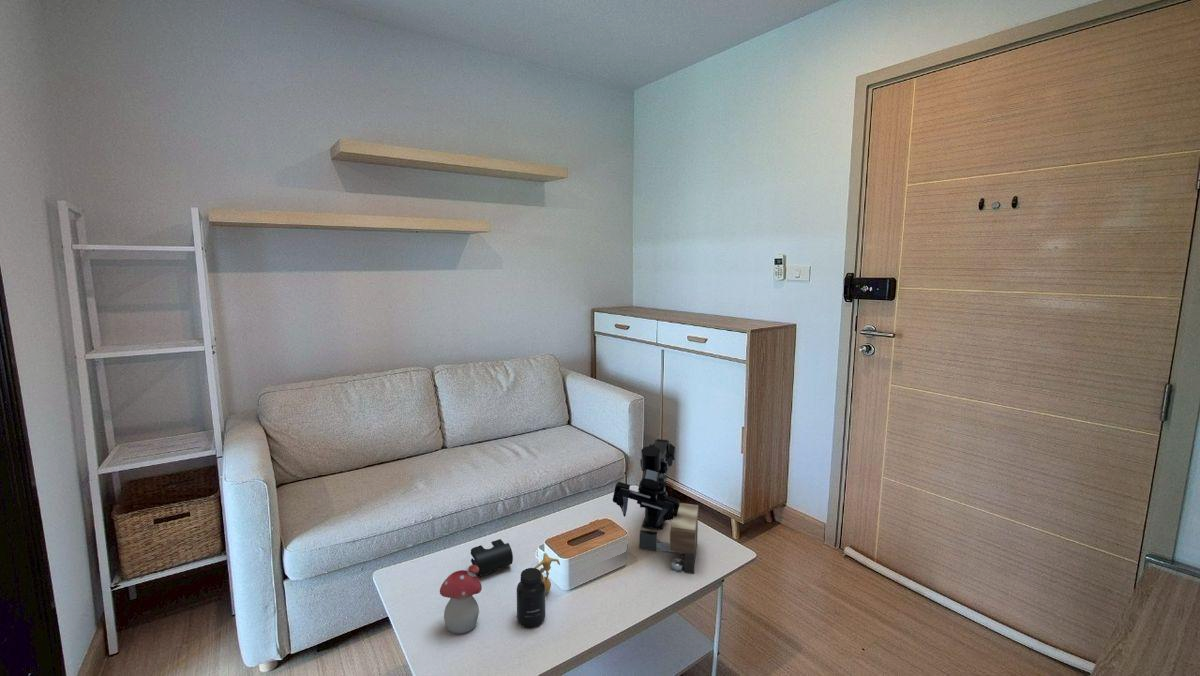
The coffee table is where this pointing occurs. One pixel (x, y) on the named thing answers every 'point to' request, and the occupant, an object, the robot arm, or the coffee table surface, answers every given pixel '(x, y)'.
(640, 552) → the coffee table surface
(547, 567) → the figurine
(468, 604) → the decorative ornament
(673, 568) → the grey metal dome
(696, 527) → the bronze curved block
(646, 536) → the blade tool
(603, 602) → the coffee table surface
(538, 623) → the supplement bottle
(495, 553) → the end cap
